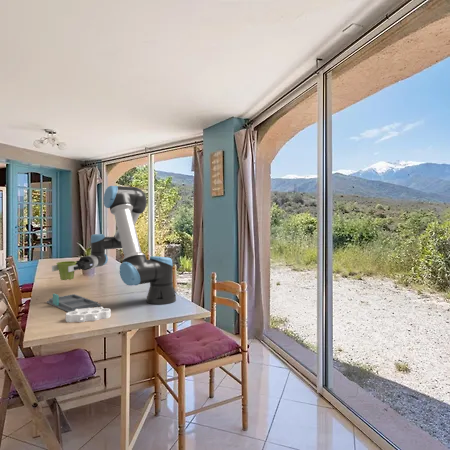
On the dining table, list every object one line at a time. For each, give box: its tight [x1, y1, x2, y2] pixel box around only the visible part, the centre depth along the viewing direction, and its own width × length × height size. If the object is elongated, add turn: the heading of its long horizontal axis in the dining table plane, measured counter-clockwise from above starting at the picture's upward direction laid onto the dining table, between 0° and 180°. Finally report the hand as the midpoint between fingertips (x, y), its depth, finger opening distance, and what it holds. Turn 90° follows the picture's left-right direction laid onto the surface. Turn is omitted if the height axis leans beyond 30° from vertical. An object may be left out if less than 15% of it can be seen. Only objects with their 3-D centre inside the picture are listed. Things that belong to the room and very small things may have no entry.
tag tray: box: [46, 293, 101, 313], centre depth 163 cm, size 27×15×6 cm, turn 49°
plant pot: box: [56, 260, 77, 281], centre depth 168 cm, size 9×9×9 cm
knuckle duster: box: [65, 306, 112, 323], centre depth 143 cm, size 3×18×15 cm
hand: (60, 269), depth 163 cm, fingers closed on plant pot, 8 cm apart
